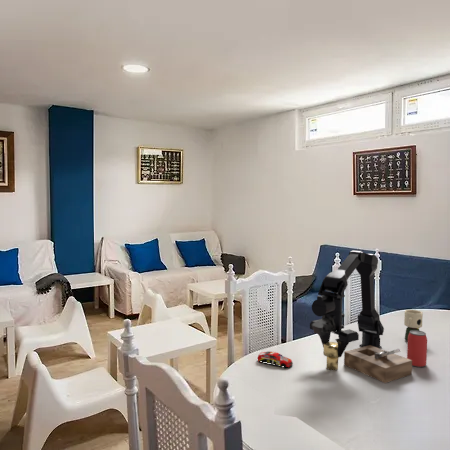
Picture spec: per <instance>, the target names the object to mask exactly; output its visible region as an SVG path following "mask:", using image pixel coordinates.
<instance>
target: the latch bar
mask: <svg viewBox="0 0 450 450" xmlns="http://www.w3.org/2000/svg"><path fill="white" fill-rule="evenodd" d="M400 352H401V349H400V348H397V349H393V350H390V351H388V352H386V353H385V352H380V353H378V354H379V358H380V357H384V356H387V355H391V354H397V353H400Z"/></svg>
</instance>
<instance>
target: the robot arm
mask: <svg viewBox="0 0 450 450" xmlns="http://www.w3.org/2000/svg"><path fill="white" fill-rule="evenodd" d="M378 264H379V259H378V256H377V255H375V254H374V253H365V252H364V251H361V250H351V251H349V253H348V256H347V257H346V258H345V259H344V261H343V262H342V263H341V264H340V266H339V267H337V269H336V270H333V271H331V272H329V273H328V274H327V275H325V277H324V278H323V280H322V282H321V284H320V287H319V290H318V295H317V296H316V299H315V300H314V301H313V302H312V304H311V310H312V313H313V314H314V315H315V316H317V317H321V318H320V319H316V320H311V321H310V323H309V330H312V331H313V333H314V334H317V335H318V337H319V339H320V341H321V344H322V347H323V349H324V343H326V342H330V340H331V334H335V335H338V338H336V339H335V341H336V343H338V357H339V358H341V357H343V354H344V352H345V350H346V349H347V347H348V345H349V343H351V342H356V341H359V339H360V338H359V337H360V336H359V333H358V332H361V333H362V334H361V341H362V343H361V344H359V347H360V348H361V347H365V346H369V345H371V346H374V347H377V348H379V349H382V348H383V347H382V346H381V337H380V336H383V335H384V332H385V331H384V330H385V328H384V325H383V324H382V321H381V319H380V315H379V313H378V311H377V310H376V308H375V307H376V306H375V304H376V303H375V289H374V288H375V287H374V285H375V283H374V274H375V272H376V271H377V269H378ZM355 270H356V271H357V272H358V274H359V276H360V291H361V293H360V294H361V296H360V297H361V311H360V313H359V314H358V315H357V326H358V328H357V329H358V332H357V331H356V330H352V329H345V325H344V324H342V323H343V318H345V314H344V313H343V298H345V296H346V295H345V293H344V292H345V291H346V290H347V287H348V279H349V278H350V277H351V275H352V274H353V273H354V271H355ZM342 329H344V330H342Z"/></svg>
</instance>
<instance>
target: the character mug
mask: <svg viewBox="0 0 450 450" xmlns="http://www.w3.org/2000/svg"><path fill="white" fill-rule="evenodd" d="M423 315H424V313H423V311H421V310H417V309H405V310H404V320H403V321H404V323H403V324H404V326H406V329H405V334H404V340H405V341H408V335H409V333H410V331H411V330H418V331H421V330H420V328H422V327H423Z"/></svg>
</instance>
